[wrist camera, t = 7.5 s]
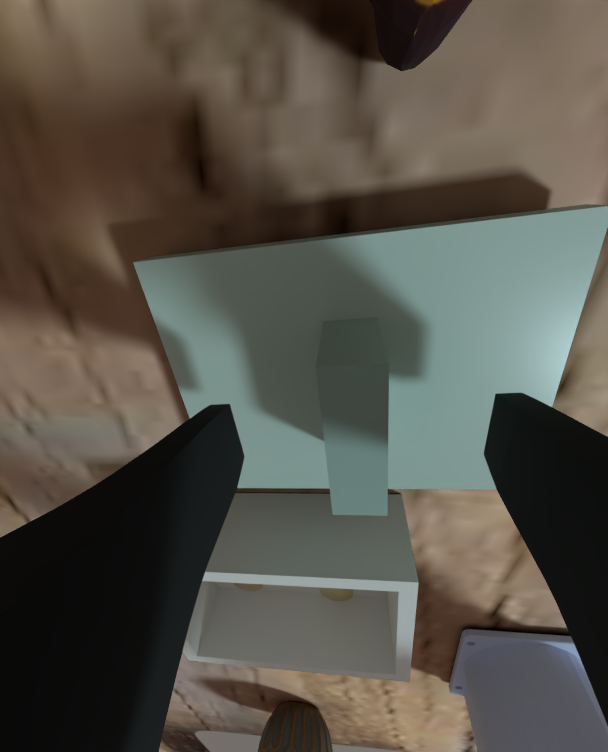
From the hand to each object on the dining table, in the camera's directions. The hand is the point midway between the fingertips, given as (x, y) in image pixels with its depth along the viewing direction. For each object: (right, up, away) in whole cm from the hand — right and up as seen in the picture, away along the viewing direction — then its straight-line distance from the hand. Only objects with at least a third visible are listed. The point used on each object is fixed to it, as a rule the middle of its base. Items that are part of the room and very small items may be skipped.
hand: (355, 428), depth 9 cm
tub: (-2, -8, +9) cm, 13 cm away
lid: (0, +2, +3) cm, 4 cm away
